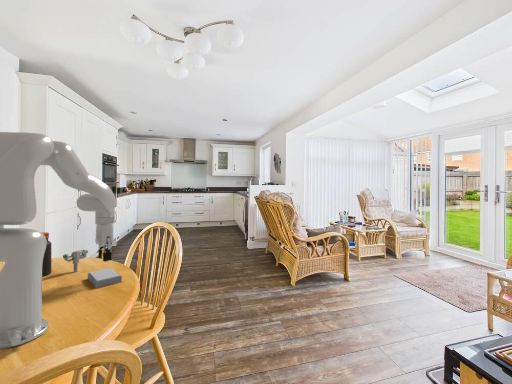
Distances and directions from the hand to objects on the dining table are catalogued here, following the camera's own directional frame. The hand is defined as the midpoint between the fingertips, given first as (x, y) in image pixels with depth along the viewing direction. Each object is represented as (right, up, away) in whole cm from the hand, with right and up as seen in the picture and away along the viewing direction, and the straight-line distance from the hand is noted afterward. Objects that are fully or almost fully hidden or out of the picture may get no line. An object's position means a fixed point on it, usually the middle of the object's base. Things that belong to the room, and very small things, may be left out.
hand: (104, 258), depth 110 cm
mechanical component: (-21, -9, +9) cm, 24 cm away
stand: (0, -10, 0) cm, 10 cm away
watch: (0, -1, 0) cm, 1 cm away
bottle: (-33, -9, +4) cm, 35 cm away
